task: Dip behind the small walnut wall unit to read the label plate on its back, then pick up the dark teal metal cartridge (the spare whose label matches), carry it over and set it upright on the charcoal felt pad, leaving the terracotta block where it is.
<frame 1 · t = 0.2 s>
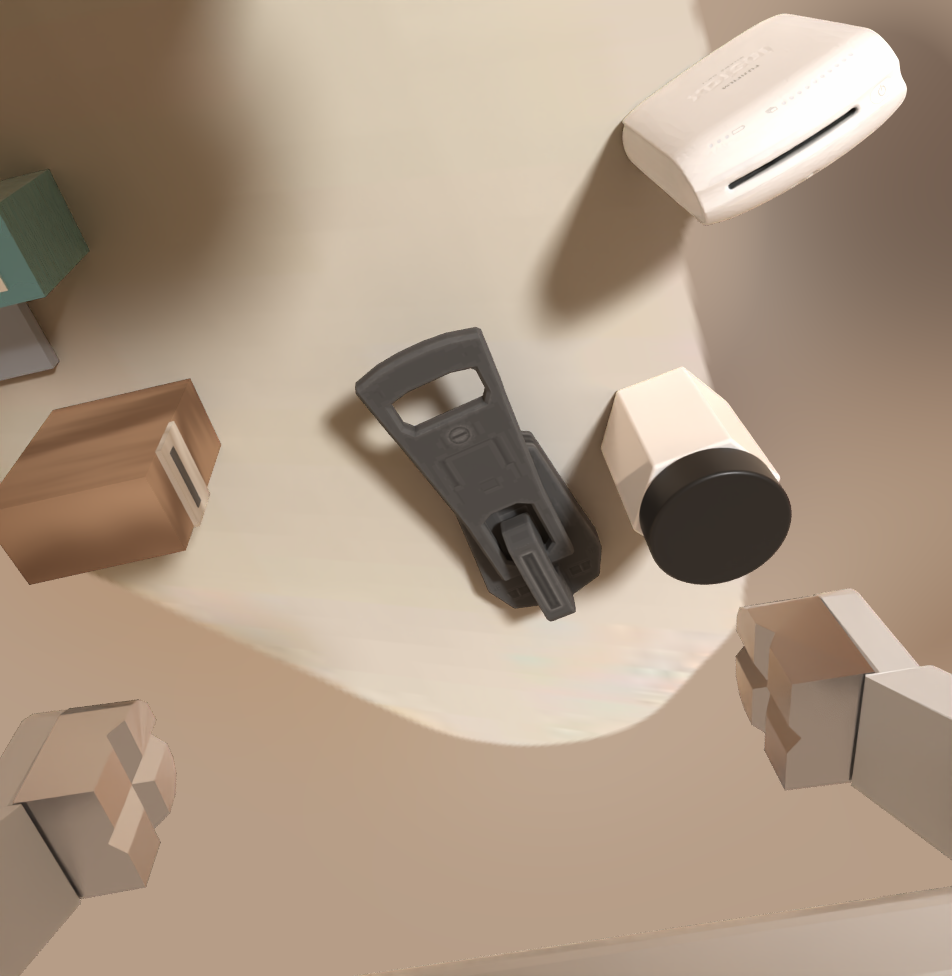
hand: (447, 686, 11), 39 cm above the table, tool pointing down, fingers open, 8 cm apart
jar: (661, 423, 55), on the table
cartridge: (30, 220, 44), on the table
wall unit: (139, 427, 52), on the table
zipper pull: (490, 458, 56), on the table
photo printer: (707, 95, 43), on the table
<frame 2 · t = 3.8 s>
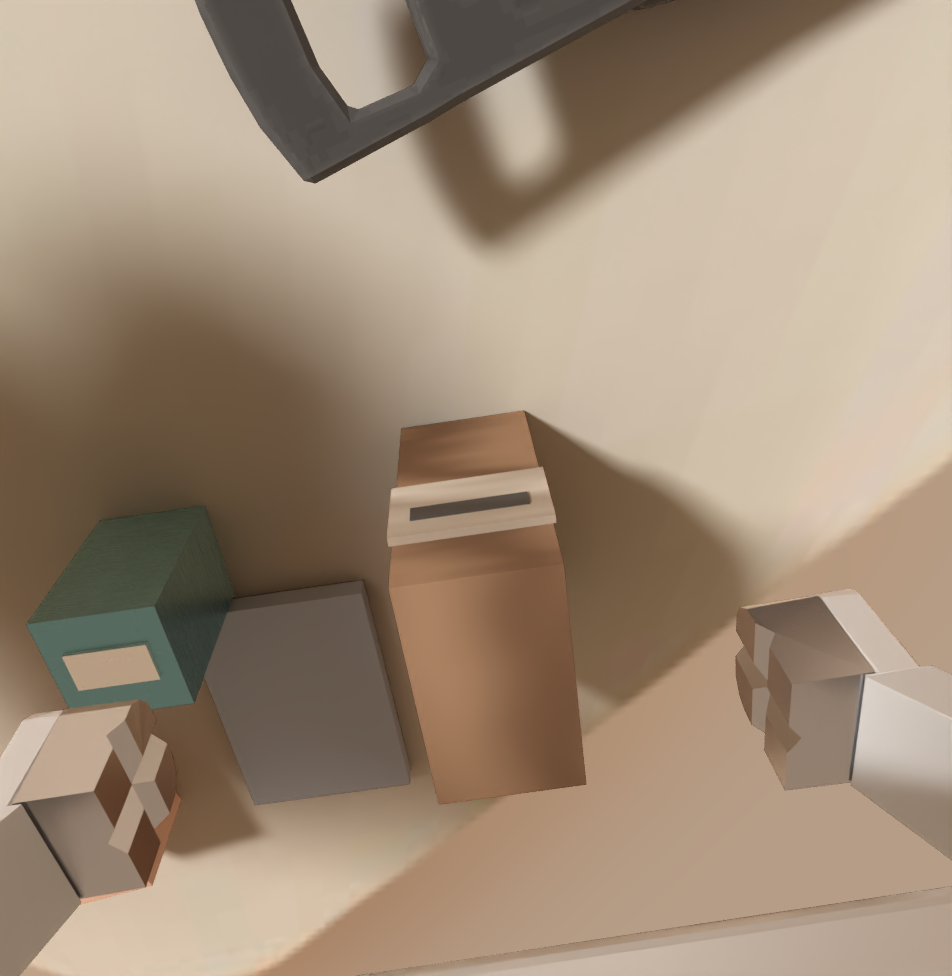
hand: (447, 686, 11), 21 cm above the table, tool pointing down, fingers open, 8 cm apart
cartridge: (169, 557, 35), on the table
wall unit: (477, 514, 34), on the table
felt pad: (306, 692, 39), on the table
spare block: (113, 778, 41), on the table
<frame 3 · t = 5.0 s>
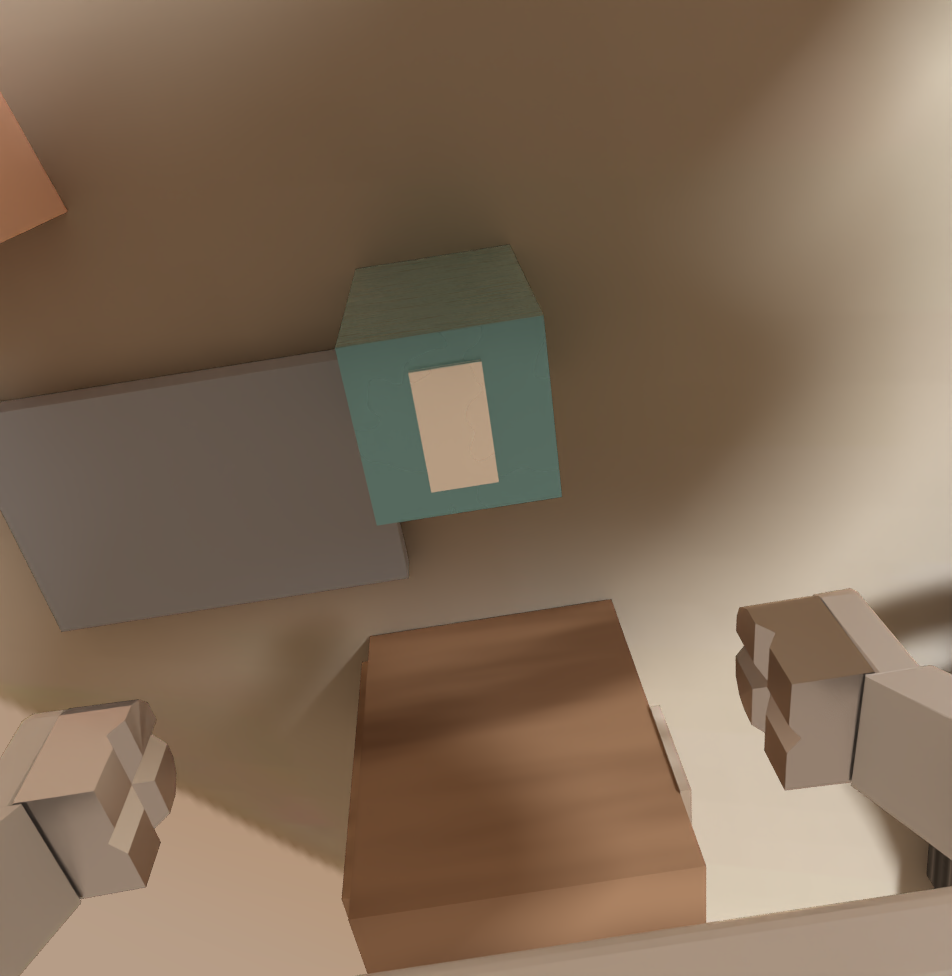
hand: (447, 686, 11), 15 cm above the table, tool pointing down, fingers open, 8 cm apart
cartridge: (444, 331, 24), on the table
wall unit: (498, 669, 31), on the table
felt pad: (205, 489, 26), on the table
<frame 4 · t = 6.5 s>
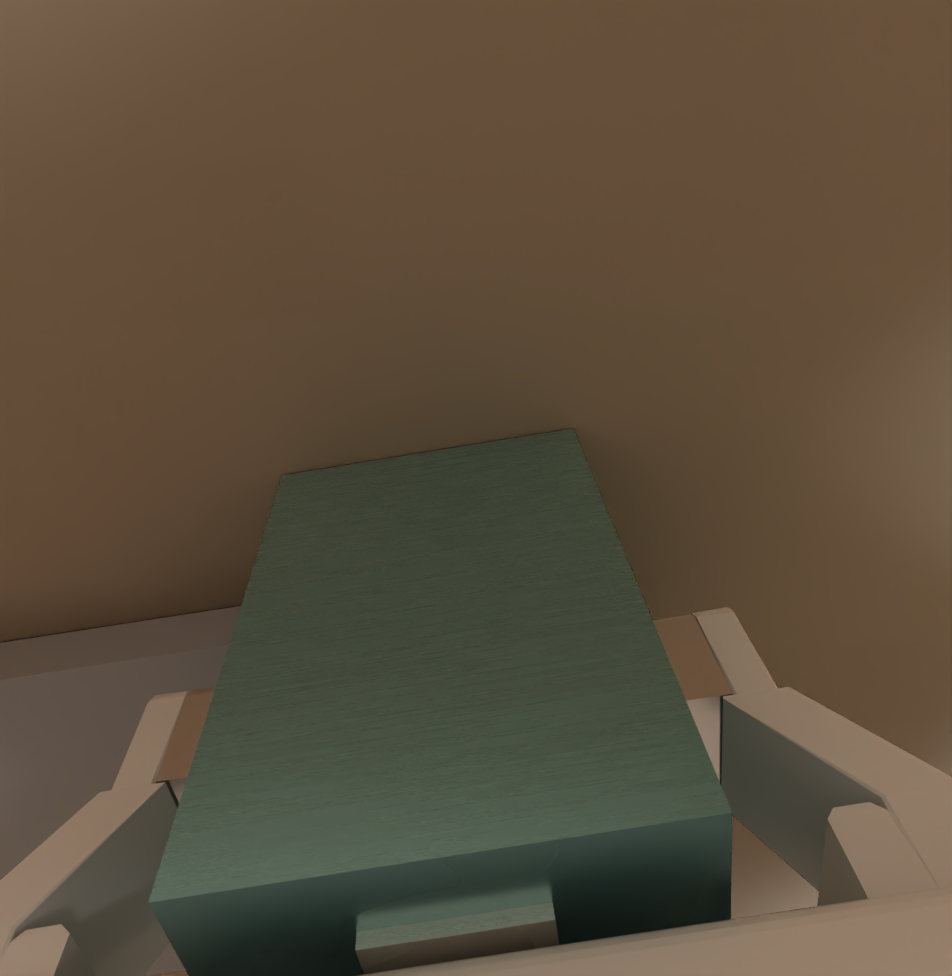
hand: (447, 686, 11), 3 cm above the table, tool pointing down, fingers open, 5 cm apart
cartridge: (450, 571, 13), on the table, touching felt pad, gripper
felt pad: (55, 809, 15), on the table
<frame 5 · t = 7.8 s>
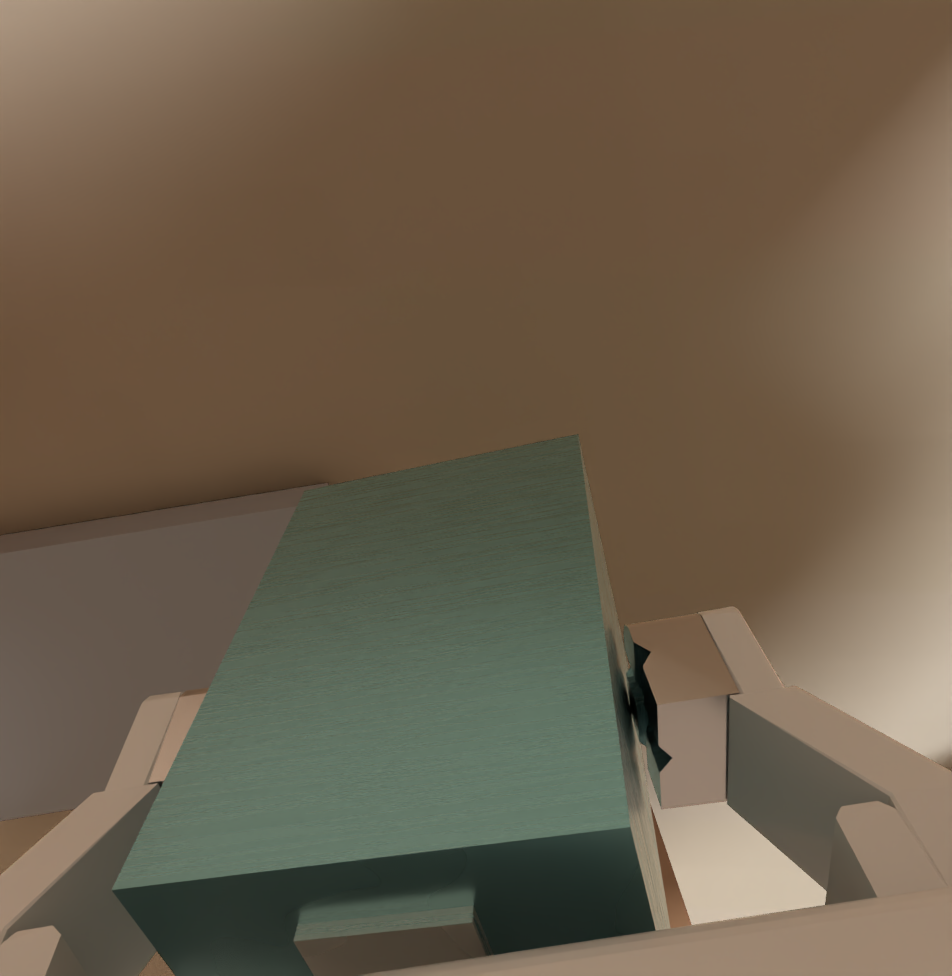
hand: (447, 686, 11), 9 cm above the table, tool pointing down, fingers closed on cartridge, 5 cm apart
cartridge: (473, 576, 14), point 6 cm above the table, tilted 8°, touching gripper
wall unit: (501, 849, 25), on the table
felt pad: (135, 654, 21), on the table
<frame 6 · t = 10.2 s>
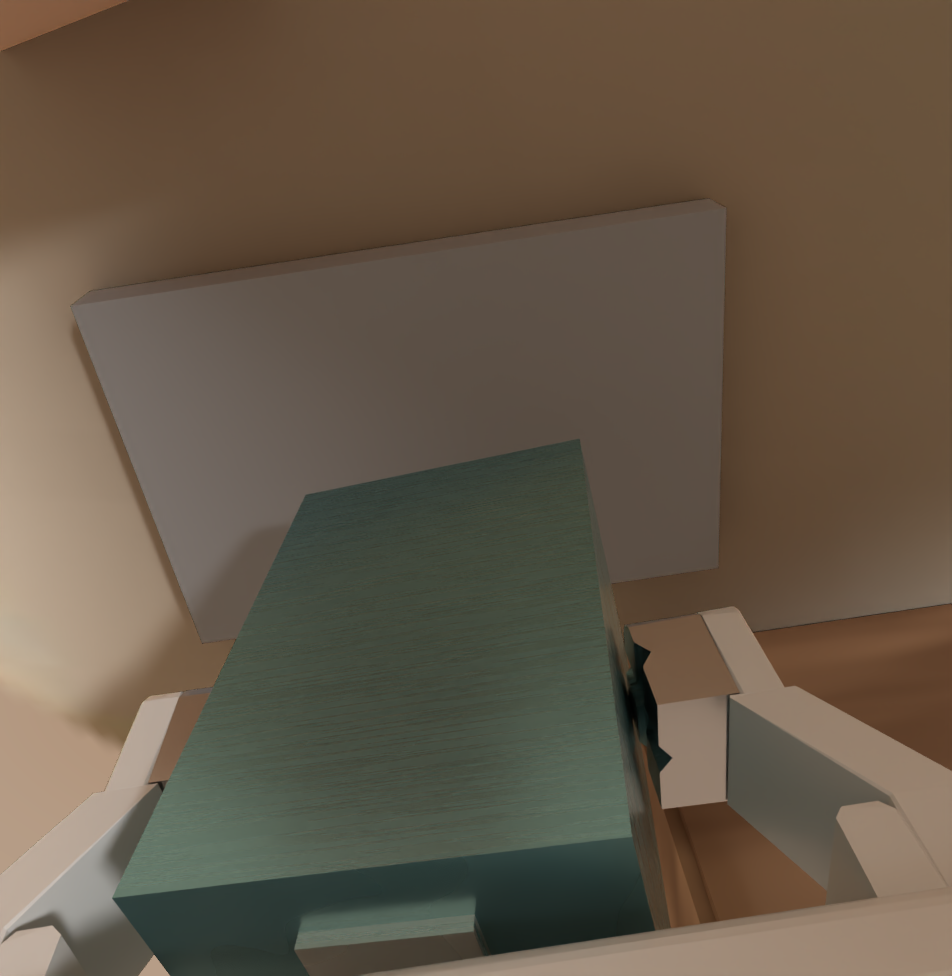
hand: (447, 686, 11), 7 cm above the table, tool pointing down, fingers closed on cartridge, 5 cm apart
cartridge: (474, 581, 14), point 5 cm above the table, tilted 7°, touching gripper
wall unit: (793, 696, 22), on the table
felt pad: (431, 431, 17), on the table
when the fingers open (5 cm above the table, at t = 11.2 s): cartridge stays where it is, resting on felt pad.
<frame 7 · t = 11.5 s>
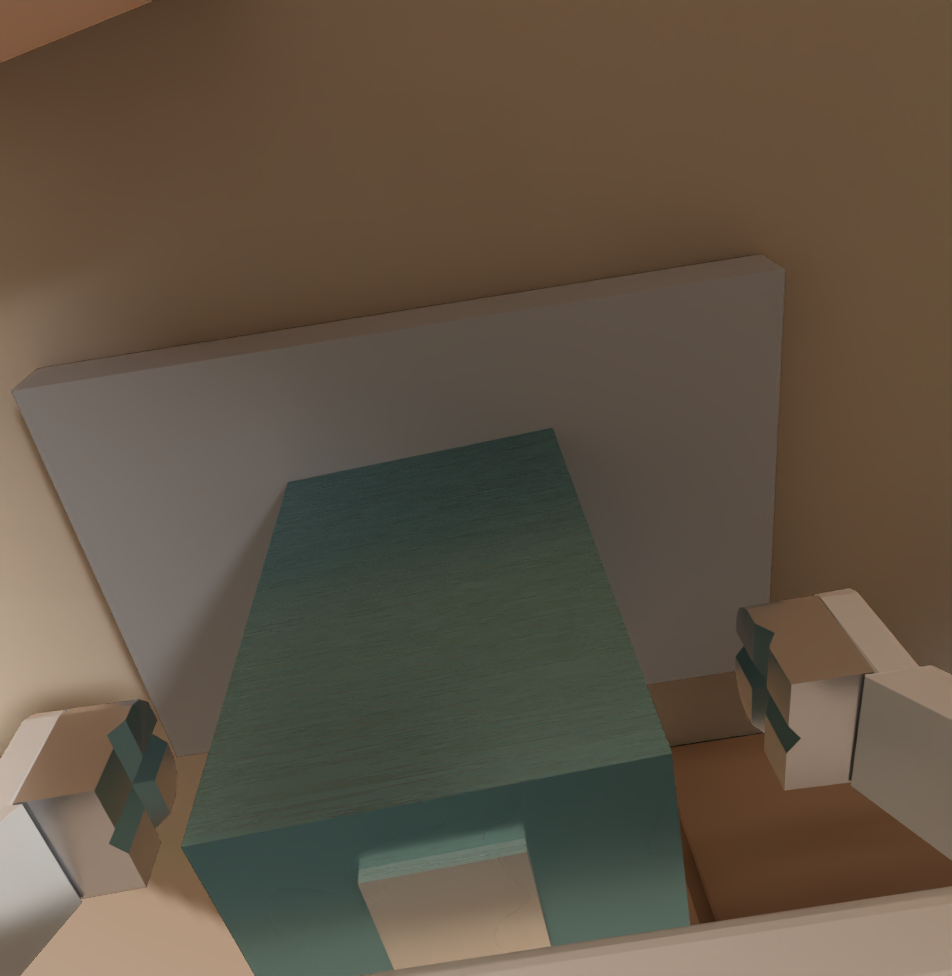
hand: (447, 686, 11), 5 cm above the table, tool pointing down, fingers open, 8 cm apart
cartridge: (447, 564, 14), point 1 cm above the table, touching felt pad
wall unit: (844, 793, 20), on the table
felt pad: (437, 518, 15), on the table
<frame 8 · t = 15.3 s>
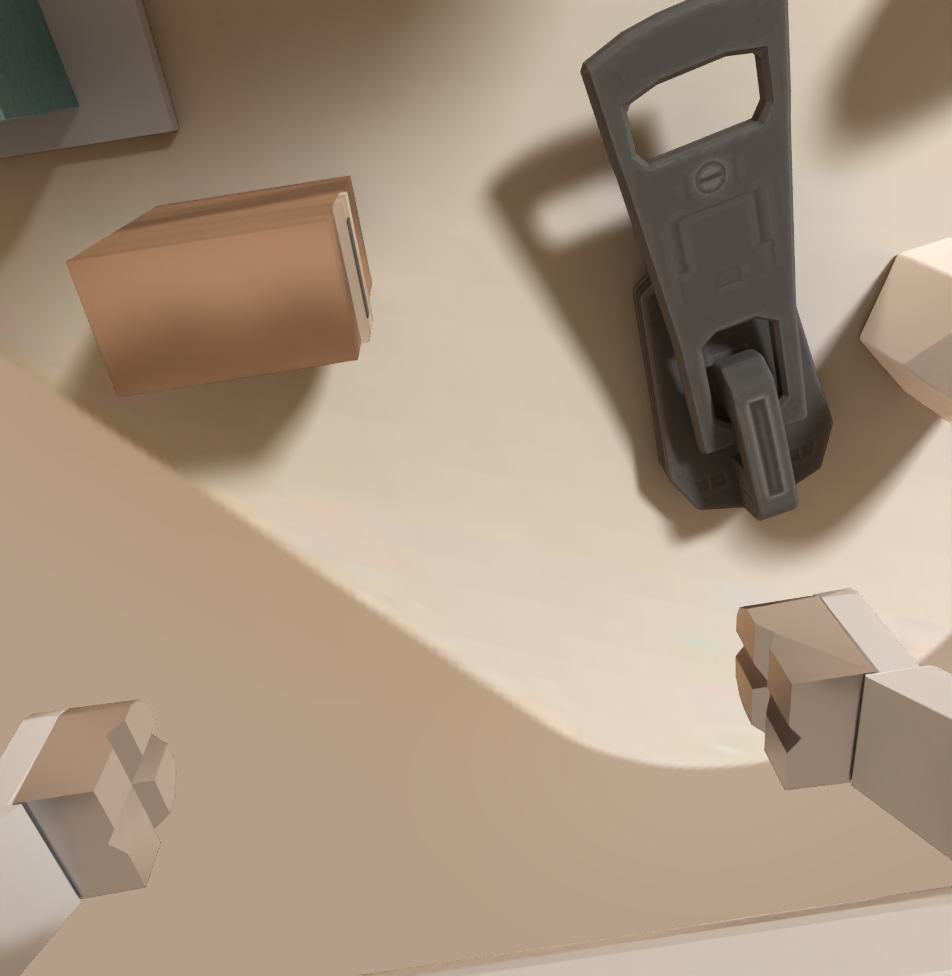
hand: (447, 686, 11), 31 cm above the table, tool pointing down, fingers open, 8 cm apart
jar: (940, 310, 42), on the table
cartridge: (3, 58, 33), point 1 cm above the table, touching felt pad
wall unit: (267, 245, 38), on the table
felt pad: (7, 47, 34), on the table
zipper pull: (698, 280, 41), on the table
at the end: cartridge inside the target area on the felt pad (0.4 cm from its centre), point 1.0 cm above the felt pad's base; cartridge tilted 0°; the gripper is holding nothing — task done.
